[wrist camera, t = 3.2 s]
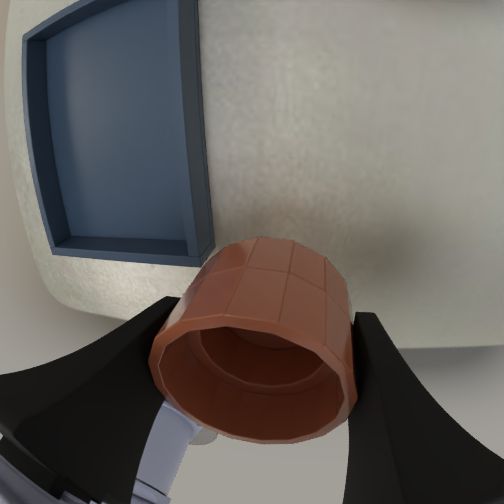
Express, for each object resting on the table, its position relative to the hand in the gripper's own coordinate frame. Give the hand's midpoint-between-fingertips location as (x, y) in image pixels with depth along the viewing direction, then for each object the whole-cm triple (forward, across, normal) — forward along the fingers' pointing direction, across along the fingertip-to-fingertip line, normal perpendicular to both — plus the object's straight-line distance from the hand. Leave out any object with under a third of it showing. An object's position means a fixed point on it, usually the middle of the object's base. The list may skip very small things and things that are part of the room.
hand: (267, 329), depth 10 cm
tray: (+7, +10, -7) cm, 14 cm away
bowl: (+2, 0, 0) cm, 2 cm away
